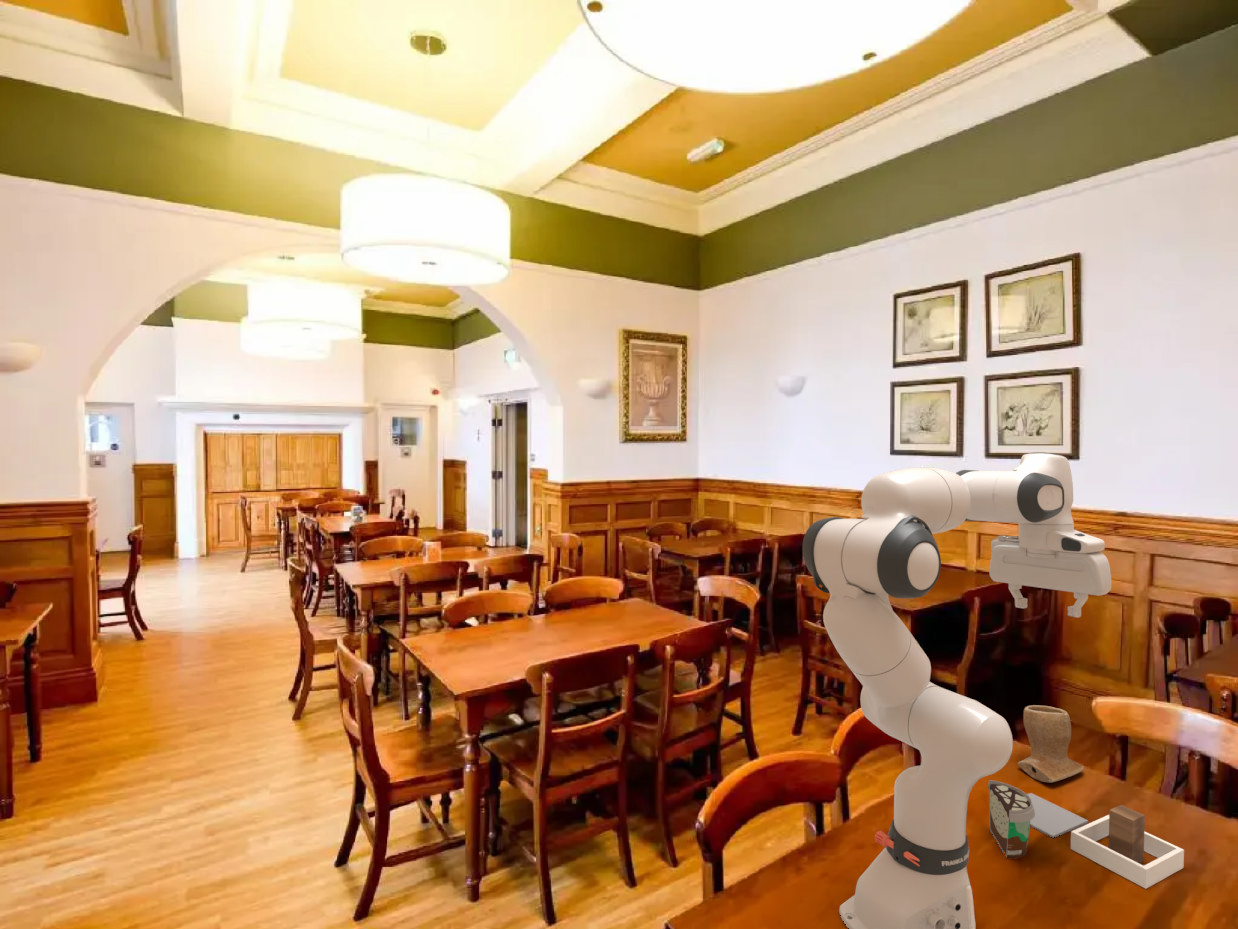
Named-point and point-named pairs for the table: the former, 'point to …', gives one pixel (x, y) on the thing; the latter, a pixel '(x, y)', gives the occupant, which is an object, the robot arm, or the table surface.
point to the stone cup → (1048, 744)
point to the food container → (1010, 818)
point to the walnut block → (1127, 832)
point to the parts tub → (1131, 870)
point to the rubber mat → (1053, 818)
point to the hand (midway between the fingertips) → (1047, 612)
